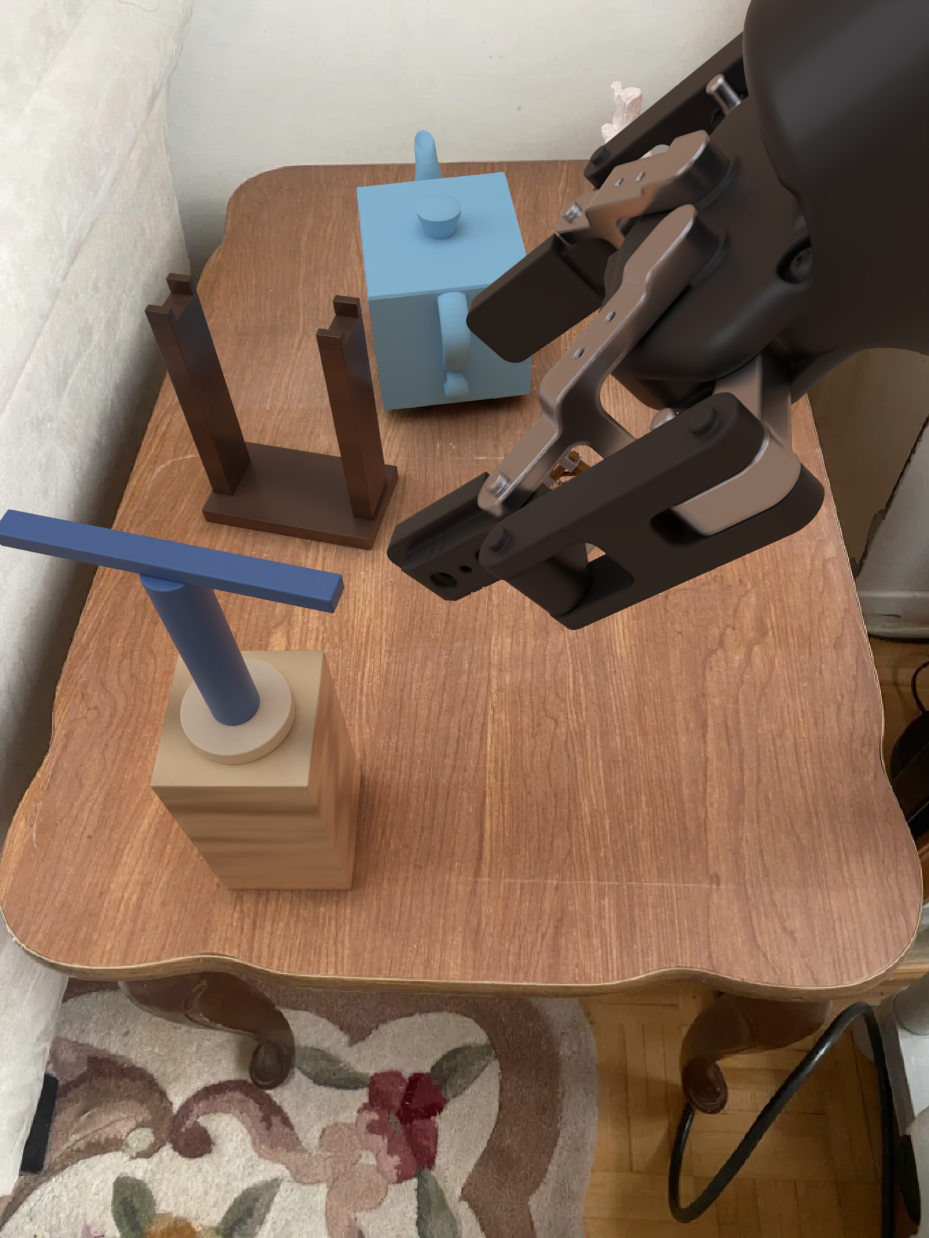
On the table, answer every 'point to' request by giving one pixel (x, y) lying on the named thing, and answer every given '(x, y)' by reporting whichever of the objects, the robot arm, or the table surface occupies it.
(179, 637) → the bar
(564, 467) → the hanging lantern post
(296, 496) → the stand
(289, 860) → the riser
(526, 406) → the table surface
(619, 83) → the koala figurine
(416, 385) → the teapot
